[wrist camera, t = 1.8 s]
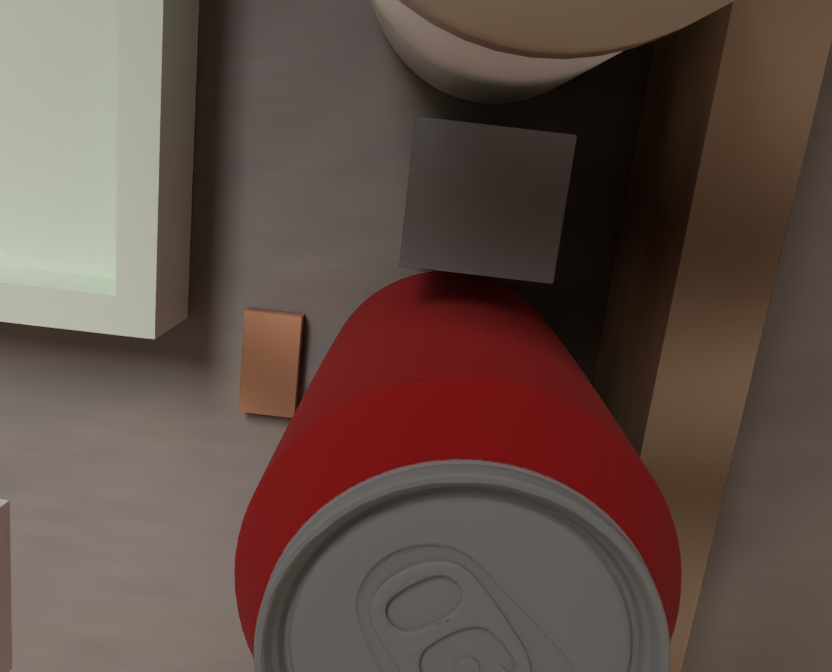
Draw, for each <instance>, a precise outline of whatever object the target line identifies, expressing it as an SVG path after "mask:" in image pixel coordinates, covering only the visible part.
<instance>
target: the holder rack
mask: <svg viewBox="0 0 832 672" xmlns="http://www.w3.org/2000/svg"><path fill="white" fill-rule="evenodd" d="M831 42H832V0H735V1H733V2H731V3H730V4H728V5H726V6H724V7H722V8H720V9H718V10H716V11H714V12H713V13H711V14H709V15H707V16H705V17H703V18H701V19H699V20H697V21H695V22H694V23H692V24H690V25H688V26H686V27H684V28H682V29H680V30H678V31H676V32H674V33H672V34H670V35H668V36H665V37H662V38H660V39H657V40H655V42H654V47H653V53H652V58H651V64H650V69H649V75H648V80H647V86H646V91H645V97H644V102H643V108H642V113H641V119H640V124H639V130H638V135H637V141H636V146H635V152H634V157H633V163H632V168H631V174H630V179H629V185H628V190H627V196H626V201H625V207H624V212H623V218H622V223H621V229H620V234H619V240H618V245H617V250H616V256H615V261H614V267H613V272H612V278H611V283H610V289H609V294H608V300H607V305H606V311H605V316H604V322H603V327H602V333H601V338H600V344H599V349H598V355H597V360H596V366H595V371H594V377H593V382H592V386H593V387H594V389H595V390H596V392H597V393H598V395H599V396H600V398H601V399H602V401H603V402H604V403H605V405H606V406H607V408H608V409H609V411H610V412H611V414H612V415H613V417H614V418H615V420H616V421H617V423H618V425H619V426H620V428H621V429H622V431H623V432H624V434H625V435H626V437H627V438H628V440H629V441H630V443H631V444H632V446H633V448H634V449H635V451H636V452H637V454H638V455H639V457H640V458H641V460H642V461H643V463H644V464H645V466H646V467H647V469H648V471H649V472H650V474H651V475H652V477H653V478H654V480H655V482H656V483H657V485H658V487H659V489H660V491H661V493H662V495H663V497H664V498H665V500H666V503H667V505H668V508H669V510H670V513H671V516H672V518H673V522H674V525H675V529H676V533H677V537H678V542H679V548H680V555H681V569H682V575H681V597H680V605H679V612H678V616H677V621H676V625H675V629H674V632H673V635H672V638H671V641H670V668H669V672H681V671H682V667H683V663H684V658H685V654H686V650H687V646H688V642H689V637H690V633H691V629H692V625H693V621H694V616H695V612H696V608H697V604H698V600H699V595H700V591H701V587H702V583H703V579H704V574H705V570H706V566H707V562H708V558H709V554H710V549H711V545H712V541H713V537H714V533H715V528H716V524H717V520H718V516H719V512H720V507H721V503H722V499H723V495H724V491H725V486H726V482H727V478H728V474H729V470H730V465H731V461H732V457H733V453H734V449H735V445H736V440H737V436H738V432H739V428H740V424H741V419H742V415H743V411H744V407H745V403H746V398H747V394H748V390H749V386H750V382H751V377H752V373H753V369H754V365H755V361H756V356H757V352H758V348H759V344H760V340H761V336H762V331H763V327H764V323H765V319H766V315H767V310H768V306H769V302H770V298H771V294H772V289H773V285H774V281H775V277H776V273H777V268H778V264H779V260H780V256H781V252H782V247H783V243H784V239H785V235H786V231H787V227H788V222H789V218H790V214H791V210H792V206H793V201H794V197H795V193H796V189H797V185H798V180H799V176H800V172H801V168H802V164H803V159H804V155H805V151H806V147H807V143H808V138H809V134H810V130H811V126H812V122H813V118H814V113H815V109H816V105H817V101H818V97H819V92H820V88H821V84H822V80H823V76H824V71H825V67H826V63H827V59H828V55H829V50H830V46H831ZM576 138H577V135H572V134H564V133H555V132H547V131H538V130H530V129H521V128H513V127H504V126H496V125H487V124H479V123H470V122H461V121H453V120H444V119H436V118H427V117H419V116H416V117H415V126H414V135H413V144H412V154H411V163H410V172H409V181H408V190H407V200H406V209H405V218H404V227H403V236H402V246H401V255H400V264H399V266H404V267H412V268H421V269H429V270H438V271H447V272H455V273H464V274H472V275H481V276H489V277H498V278H507V279H515V280H524V281H532V282H541V283H550V284H553V280H554V274H555V268H556V262H557V255H558V249H559V243H560V237H561V231H562V225H563V218H564V212H565V206H566V200H567V194H568V188H569V182H570V175H571V169H572V163H573V157H574V151H575V145H576ZM303 324H304V314H300V313H291V312H283V311H274V310H265V309H257V308H247V309H246V310H244V327H243V345H242V362H241V380H240V398H239V412H245V413H253V414H262V415H271V416H280V417H288V418H292V417H293V415H294V413H295V412H296V410H297V401H298V388H299V375H300V362H301V350H302V337H303Z"/></svg>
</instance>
